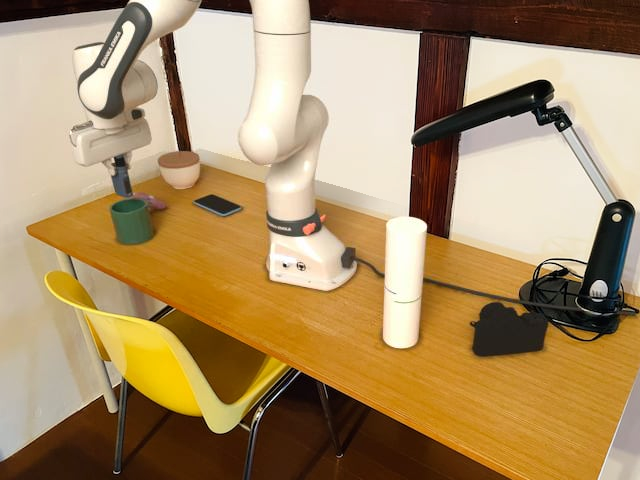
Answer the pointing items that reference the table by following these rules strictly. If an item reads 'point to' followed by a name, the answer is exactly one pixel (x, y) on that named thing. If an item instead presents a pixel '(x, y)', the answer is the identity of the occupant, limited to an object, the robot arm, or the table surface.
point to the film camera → (508, 331)
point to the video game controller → (150, 201)
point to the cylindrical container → (403, 280)
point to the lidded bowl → (180, 168)
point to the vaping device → (121, 178)
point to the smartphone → (217, 205)
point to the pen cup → (132, 221)
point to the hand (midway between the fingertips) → (120, 171)
